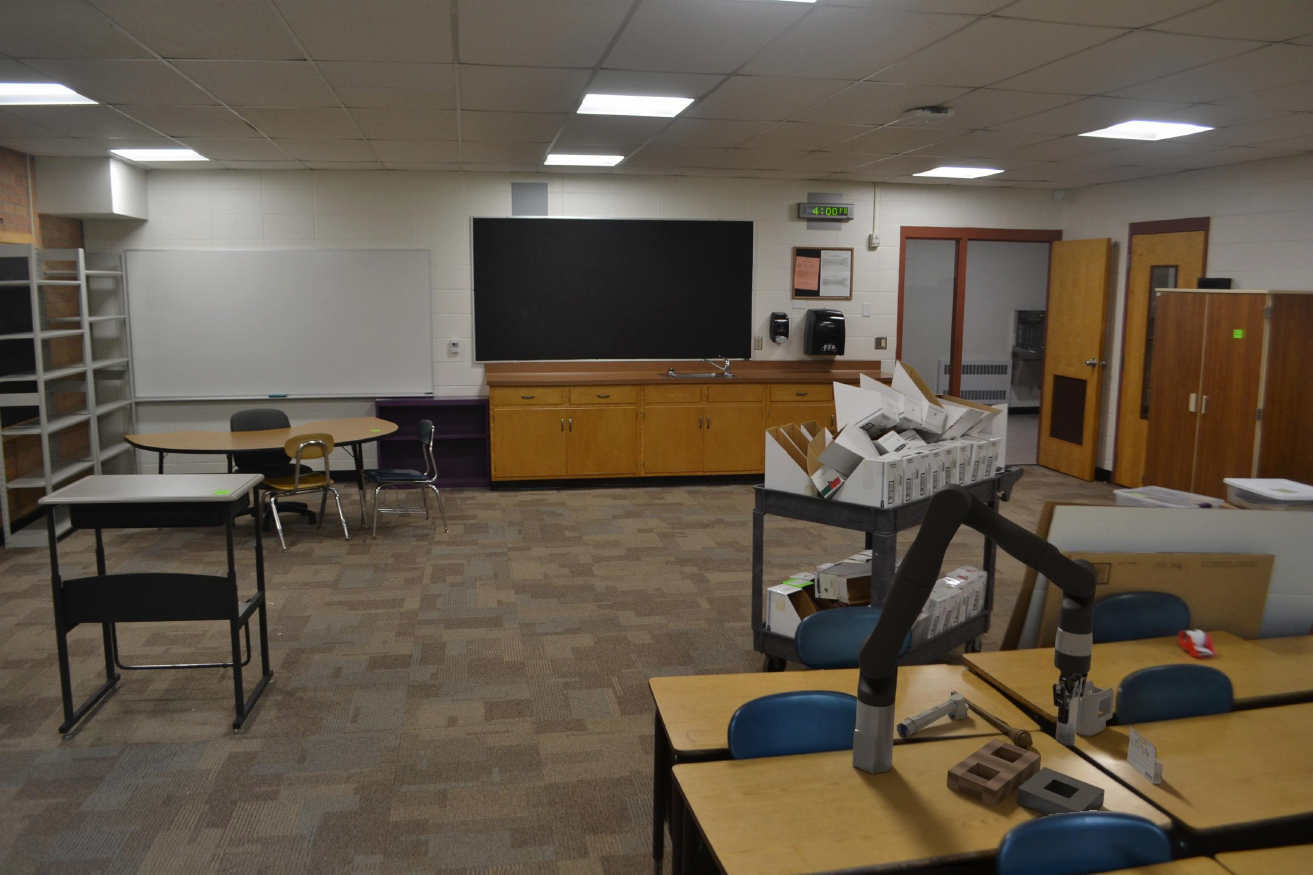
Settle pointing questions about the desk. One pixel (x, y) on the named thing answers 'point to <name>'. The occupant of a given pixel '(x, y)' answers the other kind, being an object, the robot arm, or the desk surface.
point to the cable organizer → (1094, 709)
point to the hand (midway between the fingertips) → (1067, 719)
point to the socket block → (1058, 794)
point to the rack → (993, 771)
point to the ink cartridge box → (1144, 758)
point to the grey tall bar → (1068, 725)
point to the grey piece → (934, 715)
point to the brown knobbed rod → (1004, 726)
